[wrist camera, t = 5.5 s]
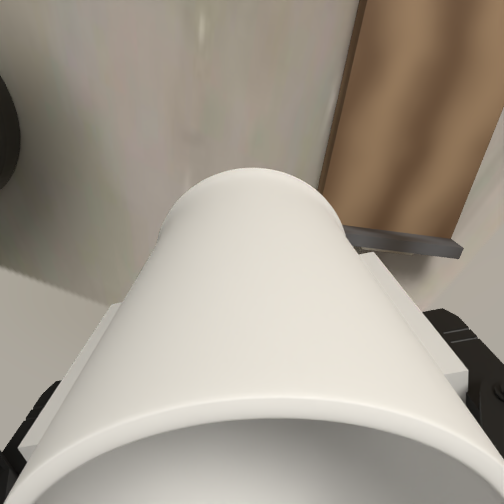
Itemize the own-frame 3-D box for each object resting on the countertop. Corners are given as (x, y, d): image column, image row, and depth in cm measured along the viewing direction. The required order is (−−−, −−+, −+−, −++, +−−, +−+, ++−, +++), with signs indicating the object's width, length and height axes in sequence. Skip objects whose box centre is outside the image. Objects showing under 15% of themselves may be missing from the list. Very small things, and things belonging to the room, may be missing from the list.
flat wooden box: (309, 227, 33) (317, 245, 29) (370, -50, 24) (393, -74, 21) (434, 243, 34) (457, 262, 30) (534, -18, 25) (582, -35, 22)
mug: (214, 401, 20) (174, 788, 9) (79, 310, 17) (-213, 690, 6) (384, 257, 16) (668, 588, 5) (247, 120, 14) (256, 215, 3)
